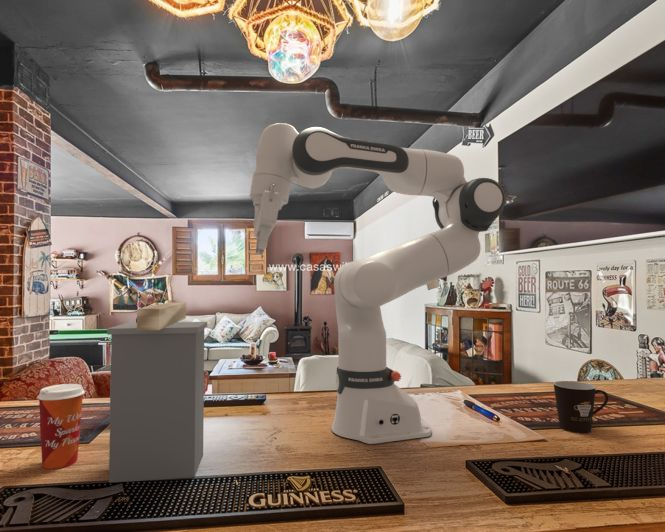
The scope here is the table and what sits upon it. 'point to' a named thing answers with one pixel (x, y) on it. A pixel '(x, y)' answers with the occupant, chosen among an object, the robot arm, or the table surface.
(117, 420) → the tall grey block
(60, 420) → the paper cup
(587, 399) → the coffee mug
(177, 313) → the tan wooden bar
